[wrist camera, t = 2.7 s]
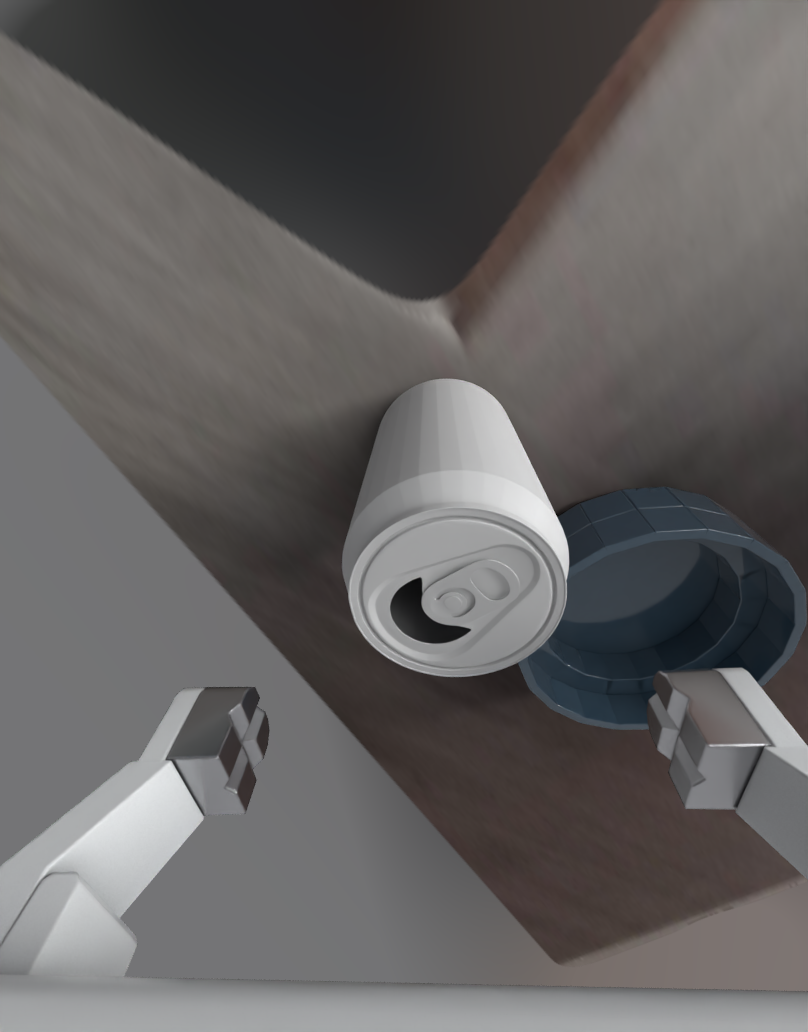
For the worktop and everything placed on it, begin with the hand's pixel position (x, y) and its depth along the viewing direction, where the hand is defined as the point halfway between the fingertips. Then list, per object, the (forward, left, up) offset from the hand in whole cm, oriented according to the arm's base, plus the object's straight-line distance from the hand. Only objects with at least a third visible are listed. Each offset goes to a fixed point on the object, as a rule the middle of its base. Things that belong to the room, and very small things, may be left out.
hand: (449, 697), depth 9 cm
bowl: (-10, +9, -15) cm, 20 cm away
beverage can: (0, 0, -15) cm, 15 cm away
